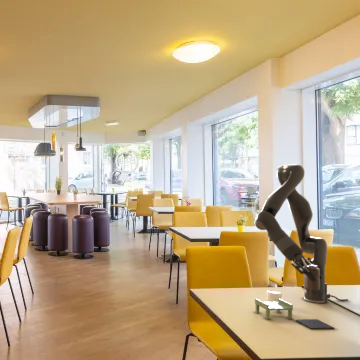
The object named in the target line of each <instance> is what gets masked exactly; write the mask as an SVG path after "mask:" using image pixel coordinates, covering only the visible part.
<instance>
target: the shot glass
mask: <svg viewBox="0 0 360 360" xmlns="http://www.w3.org/2000/svg"><path fill="white" fill-rule="evenodd" d="M265 291H266V293H265V294H266V302H278V298H280V299H282V296H283V295H282V294H283V292H281V291H279V290H271V289H270V290H265Z"/></svg>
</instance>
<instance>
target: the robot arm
mask: <svg viewBox="0 0 360 360" xmlns="http://www.w3.org/2000/svg"><path fill="white" fill-rule="evenodd" d="M276 177H277V180H278V183H279V184H280V186H279V187H278V188H277V189H275V190H274V191H273V192H272V193H271V194H270V195H269V196H268V197H267V199H266V200H265V202H264V204H263V206H262V209H261V211H259V212H258V213H257V214H256V217H255V220H254V225H255V227H256V228H257V230H260V231H266V232H267V237H268V238H269V240H270V241H271V242H272V244H274V245H275V246H276V248H277V250H279V252H280V253H281V254H282V255H283V256H284V257H285V259H286V260H287V261H289V262H290V265H291V266H292V267H293V268H294V269H295V270H296V271H298V272H299V273H300V274H301V275H303V300H305V301H307V302H310V303H314V304H315V303H316V304H323V303H327V302H328V299H331V298H334V299H336V300H337V301H339V302H347V301H349V299H348V298H345V299H343V298H341V299H340V298H338V297H337V296H335V295H332V294H330V293H328V284H327V282H326V265H327V260H328V259H327V257H328V243H327V241H326V239H324V238H323V237H322V238H321V237H315V236H311V235H310V231H309V227H310V225H311V222H312V221H313V220H312V219H313V214H314V213H313V209H312V207H311V204H310V202H309V201H308V199H307V198H306V197H305V196H304V195H302V194H301V192H299V191H298V189H297V187H298V186H299V185H300V183H301V182H302V181H303V179H304V177H305V168H304V167H303V166H302V165H301V164H295V163H294V164H283V165H279V166H278V167H277V170H276ZM286 201H287V204H288V208H289V210H290V214H291V217H292V219H293V222H294V225H295V229H296V233H297V237H298V242H299V245H298V243H296V241H295V240H294V239H293V238H291V236H289V234H288V233H286V231H285V230H284V229H283V228H282V227H281V226H280V223H279V222H278V221H277V219H276V216H277V214H278V213H279V211H280V210H281V208H282V207H283V205H284V203H285V202H286ZM303 254H307V255H312V256H313V258H312V259H311V257H306V256H304V255H303ZM291 261H292V262H291ZM309 265H316V266H317V268H320V285H319V290H313V289H308V288H306V276H307V277H308V278H309V279H310V280H311V281H312V282H314V281H316V280H317V278H316V277H315V276H314V275H313V274H312V273H311V272H310V271H309V269H308V267H309Z"/></svg>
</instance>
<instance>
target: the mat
mask: <svg viewBox="0 0 360 360" xmlns="http://www.w3.org/2000/svg"><path fill="white" fill-rule="evenodd" d="M295 322H297V323H299V324H301V325H303V326H305V327H306V328H308V329H310V330H335V327H334V326H332V325H330V324H328V323H325V322H324V321H322V320H320V319H317V318H316V319H315V318H313V319H312V318H311V319H309V318H308V319H295Z"/></svg>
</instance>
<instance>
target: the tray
mask: <svg viewBox="0 0 360 360" xmlns="http://www.w3.org/2000/svg"><path fill="white" fill-rule="evenodd" d="M254 305H255V313H256V314H260V308H262V309H264V310H265V319H266V320H271V311H276V313H278V314H281V312H282V311H287V319H288V320H293V310H294V304H292V303H290V302H288V301H286V300H284V299H283V298H281V299H280V298H278V302H267V301H262V300H260V299H258V298H254Z"/></svg>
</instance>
